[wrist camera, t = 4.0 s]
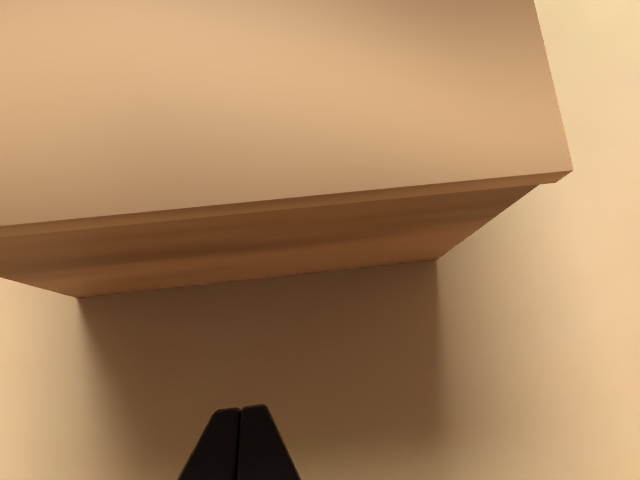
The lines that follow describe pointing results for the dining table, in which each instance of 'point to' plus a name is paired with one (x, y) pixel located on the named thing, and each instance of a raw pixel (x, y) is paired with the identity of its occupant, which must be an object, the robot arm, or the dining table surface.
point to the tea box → (262, 135)
